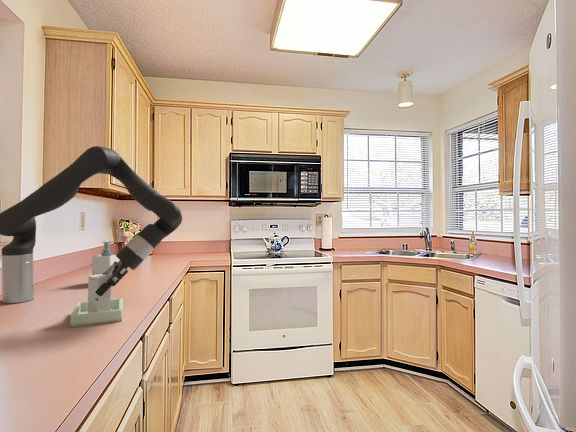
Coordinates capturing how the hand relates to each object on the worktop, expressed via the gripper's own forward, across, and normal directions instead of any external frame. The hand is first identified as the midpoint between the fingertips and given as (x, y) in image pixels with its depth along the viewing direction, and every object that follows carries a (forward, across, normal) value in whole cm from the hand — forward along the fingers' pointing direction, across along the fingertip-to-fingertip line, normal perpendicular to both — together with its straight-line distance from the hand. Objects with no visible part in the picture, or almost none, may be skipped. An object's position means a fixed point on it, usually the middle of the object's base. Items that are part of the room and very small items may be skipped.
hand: (96, 291), depth 108 cm
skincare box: (+5, 0, +6) cm, 7 cm away
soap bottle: (-1, -58, +12) cm, 59 cm away
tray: (+5, 0, +6) cm, 8 cm away
